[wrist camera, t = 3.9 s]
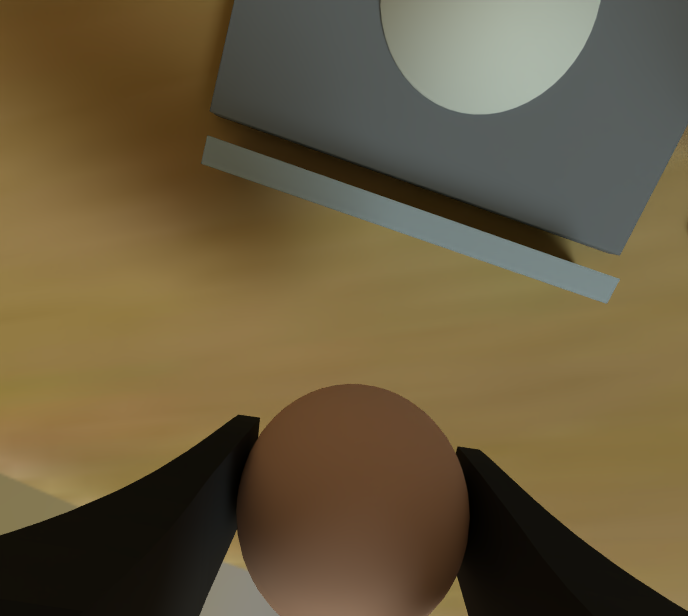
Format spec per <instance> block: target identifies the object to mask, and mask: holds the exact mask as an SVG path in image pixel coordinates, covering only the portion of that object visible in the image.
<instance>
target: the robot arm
mask: <svg viewBox="0 0 688 616" xmlns="http://www.w3.org/2000/svg"><path fill="white" fill-rule="evenodd" d="M259 422H260V418H258V417H251V416H244V415H237V416H236V417H234V418H233V419H231V420H230V421H229V422H227V423H226V424H225V425H223V426H222V427H220V428H219V429H218V430H216V431H215V432H214V433H212V434H211V435H210V436H208V437H207V438H205V439H204V440H203V441H201V442H200V443H198V444H197V445H195V446H194V447H192V448H191V449H190V450H188V451H187V452H185V453H184V454H182V455H180V456H179V457H177V458H176V459H174V460H172V461H171V462H169V463H168V464H166V465H164V466H163V467H161V468H159V469H158V470H156V471H154V472H152V473H151V474H149V475H147V476H145V477H143V478H141V479H140V480H138V481H136V482H134V483H132V484H130V485H128V486H126V487H124V488H122V489H120V490H118V491H116V492H113V493H111V494H109V495H107V496H104V497H102V498H100V499H97V500H95V501H93V502H90V503H88V504H86V505H83V506H81V507H79V508H76V509H74V510H72V511H69V512H67V513H64V514H61V515H59V516H56V517H53V518H50V519H48V520H45V521H42V522H40V523H36V524H33V525H31V526H28V527H25V528H22V529H19V530H16V531H13V532H10V533H6V534H3V535H0V616H199V615H200V613H201V610H202V608H203V605H204V603H205V600H206V598H207V595H208V593H209V591H210V589H211V586H212V584H213V582H214V580H215V577H216V575H217V573H218V571H219V568H220V566H221V564H222V562H223V560H224V557H225V555H226V553H227V551H228V548H229V546H230V544H231V542H232V539H233V537H234V535H235V532H236V530H237V515H236V507H237V496H238V489H239V484H240V479H241V475H242V472H243V469H244V466H245V463H246V461H247V458H248V456H249V453H250V451H251V449H252V448H253V446H254V444H255V442H256V441H257V439H258V432H259ZM456 455H457V457H458V460H459V463H460V465H461V468H462V470H463V474H464V478H465V481H466V486H467V491H468V498H469V511H470V522H469V532H468V542H467V546H466V550H465V554H464V557H463V561H462V564H461V567H460V569H459V572H458V574H457V577H458V581H459V584H460V588H461V591H462V595H463V598H464V602H465V605H466V609H467V612H468V616H688V611H687V610H685V609H683V608H682V607H680V606H678V605H677V604H675V603H673V602H672V601H670V600H668V599H667V598H665V597H664V596H662V595H661V594H659V593H658V592H656V591H654V590H653V589H651V588H650V587H648V586H647V585H645V584H644V583H642V582H641V581H639V580H637V579H636V578H634V577H633V576H631V575H630V574H629V573H627V572H626V571H624V570H623V569H621V568H620V567H618V566H617V565H616V564H614V563H613V562H611V561H610V560H609V559H607V558H606V557H605V556H603V555H602V554H601V553H599V552H598V551H596V550H595V549H594V548H592V547H591V546H590V545H588V544H587V543H586V542H584V541H583V540H582V539H581V538H579V537H578V536H577V535H575V534H574V533H573V532H572V531H570V530H569V529H568V528H567V527H566V526H564V525H563V524H562V523H561V522H560V521H558V520H557V519H556V518H555V517H554V516H552V515H551V514H550V513H549V512H548V511H547V510H545V509H544V508H543V507H542V506H541V505H540V504H539V503H537V502H536V501H535V500H534V499H533V498H532V497H531V496H530V495H529V494H528V493H526V492H525V491H524V490H523V489H522V488H521V487H520V486H519V485H518V484H517V483H516V482H515V481H513V480H512V479H511V478H510V477H509V476H508V475H507V474H506V473H505V472H504V471H503V470H502V469H501V468H500V467H499V466H497V465H496V464H495V463H494V462H493V461H492V460H491V459H490V458H489V457H488V456H486V455H485V454H484V453H483V452H482V451H480V450H478V449H471V448H465V447H457V451H456Z"/></svg>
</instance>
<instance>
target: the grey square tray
mask: <svg viewBox="0 0 688 616" xmlns="http://www.w3.org/2000/svg"><path fill="white" fill-rule="evenodd" d="M201 164H204V165H207V166H210V167H212V168H215V169H218V170H221V171H224V172H227V173H230V174H233V175H236V176H238V177H241V178H244V179H247V180H250V181H253V182H256V183H259V184H262V185H265V186H267V187H270V188H273V189H276V190H279V191H282V192H285V193H288V194H291V195H293V196H296V197H299V198H302V199H305V200H308V201H311V202H314V203H317V204H320V205H322V206H325V207H328V208H331V209H334V210H337V211H340V212H343V213H346V214H348V215H351V216H354V217H357V218H360V219H363V220H366V221H369V222H372V223H375V224H377V225H380V226H383V227H386V228H389V229H392V230H395V231H398V232H401V233H403V234H406V235H409V236H412V237H415V238H418V239H421V240H424V241H427V242H430V243H432V244H435V245H438V246H441V247H444V248H447V249H450V250H453V251H456V252H458V253H461V254H464V255H467V256H470V257H473V258H476V259H479V260H482V261H485V262H487V263H490V264H493V265H496V266H499V267H502V268H505V269H508V270H511V271H513V272H516V273H519V274H522V275H525V276H528V277H531V278H534V279H537V280H540V281H542V282H545V283H548V284H551V285H554V286H557V287H560V288H563V289H566V290H568V291H571V292H574V293H577V294H580V295H583V296H586V297H589V298H592V299H595V300H597V301H600V302H603V303H606V304H607V303H608V301H609V299H610V297H611V295H612V293H613V291H614V289H615V287H616V285H617V284H618V282H619V280H620V279H618V278H615V277H612V276H609V275H606V274H603V273H601V272H598V271H595V270H592V269H589V268H586V267H583V266H581V265H578V264H575V263H572V262H569V261H566V260H563V259H561V258H558V257H555V256H552V255H549V254H546V253H543V252H540V251H538V250H535V249H532V248H529V247H526V246H523V245H520V244H518V243H515V242H512V241H509V240H506V239H503V238H500V237H497V236H495V235H492V234H489V233H486V232H483V231H480V230H477V229H475V228H472V227H469V226H466V225H463V224H460V223H457V222H454V221H452V220H449V219H446V218H443V217H440V216H437V215H434V214H432V213H429V212H426V211H423V210H420V209H417V208H414V207H412V206H409V205H406V204H403V203H400V202H397V201H394V200H391V199H389V198H386V197H383V196H380V195H377V194H374V193H371V192H369V191H366V190H363V189H360V188H357V187H354V186H351V185H348V184H346V183H343V182H340V181H337V180H334V179H331V178H328V177H326V176H323V175H320V174H317V173H314V172H311V171H308V170H305V169H303V168H300V167H297V166H294V165H291V164H288V163H285V162H283V161H280V160H277V159H274V158H271V157H268V156H265V155H263V154H260V153H257V152H254V151H251V150H248V149H245V148H242V147H240V146H237V145H234V144H231V143H228V142H225V141H222V140H220V139H217V138H214V137H211V136H208V135H207V140H206V144H205V148H204V153H203V157H202V162H201Z"/></svg>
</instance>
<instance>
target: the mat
mask: <svg viewBox="0 0 688 616" xmlns="http://www.w3.org/2000/svg"><path fill="white" fill-rule="evenodd" d="M210 112H212V113H214V114H215V115H217V116H220V117H222V118H225V119H228V120H231V121H234V122H237V123H239V124H242V125H245V126H248V127H251V128H254V129H257V130H259V131H262V132H265V133H268V134H271V135H274V136H276V137H279V138H282V139H285V140H288V141H291V142H293V143H296V144H299V145H302V146H305V147H308V148H311V149H313V150H316V151H319V152H322V153H325V154H328V155H330V156H333V157H336V158H339V159H342V160H345V161H348V162H350V163H353V164H356V165H359V166H362V167H365V168H367V169H370V170H373V171H376V172H379V173H382V174H384V175H387V176H390V177H393V178H396V179H399V180H402V181H404V182H407V183H410V184H413V185H416V186H419V187H421V188H424V189H427V190H430V191H433V192H436V193H438V194H441V195H444V196H447V197H450V198H453V199H456V200H458V201H461V202H464V203H467V204H470V205H473V206H475V207H478V208H481V209H484V210H487V211H490V212H493V213H495V214H498V215H501V216H504V217H507V218H510V219H512V220H515V221H518V222H521V223H524V224H527V225H529V226H532V227H535V228H538V229H541V230H544V231H547V232H549V233H552V234H555V235H558V236H561V237H564V238H566V239H569V240H572V241H575V242H578V243H581V244H584V245H586V246H589V247H592V248H595V249H598V250H601V251H603V252H606V253H610V254H615V255H620V254H621V252H622V250H623V248H624V246H625V244H626V243H627V241H628V239H629V237H630V235H631V233H632V231H633V229H634V227H635V225H636V223H637V221H638V219H639V217H640V215H641V214H642V212H643V210H644V208H645V206H646V204H647V202H648V200H649V198H650V196H651V194H652V192H653V190H654V188H655V186H656V185H657V183H658V181H659V179H660V177H661V175H662V173H663V171H664V169H665V167H666V165H667V163H668V161H669V159H670V157H671V156H672V154H673V152H674V150H675V148H676V146H677V144H678V142H679V140H680V138H681V136H682V134H683V132H684V130H685V128H686V127H687V125H688V0H234V5H233V9H232V14H231V18H230V23H229V27H228V32H227V36H226V40H225V45H224V49H223V54H222V58H221V63H220V67H219V72H218V76H217V81H216V85H215V89H214V94H213V98H212V103H211V107H210Z"/></svg>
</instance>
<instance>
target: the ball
mask: <svg viewBox="0 0 688 616" xmlns="http://www.w3.org/2000/svg"><path fill="white" fill-rule="evenodd" d="M236 515H237V531H238V538H239V542H240V546H241V551H242V555H243V559H244V561H245V564H246V566H247V569H248V571H249V573H250V575H251V578H252V580H253V582H254V583H255V585H256V587H257V589H258V590H259V592H260V593H261V594H262V596H263V597H264V598H265V599H266V601H267V602H268V603H269V605H270V606H271V607H272V608H273V609H274V610H275V611H276V612H277V613H278V614H279V615H280V616H428V615H429V614H430V613H431V612H432V611H433V610H434V609H435V608H436V606H437V605H438V604H439V603H440V602H441V601H442V599H443V598H444V597H445V595H446V594H447V592H448V591H449V589H450V587H451V586H452V584H453V582H454V580H455V578H456V576H457V574H458V572H459V569H460V567H461V564H462V561H463V557H464V554H465V550H466V546H467V542H468V532H469V522H470V511H469V498H468V491H467V486H466V481H465V478H464V474H463V470H462V468H461V465H460V463H459V460H458V457H457V455H456V453H455V452H454V450H453V448H452V446H451V444H450V442H449V441H448V439H447V437H446V436H445V435H444V433H443V432H442V431H441V430H440V428H439V427H438V426H437V425H436V423H435V422H434V421H433V420H432V419H431V418H430V417H429V416H428V415H427V414H426V413H425V412H424V411H422V410H421V409H420V408H418V407H417V406H416V405H414V404H413V403H412V402H410V401H409V400H407V399H405V398H403V397H402V396H400V395H398V394H396V393H393V392H391V391H388V390H385V389H382V388H378V387H374V386H368V385H361V384H344V385H335V386H330V387H326V388H322V389H319V390H316V391H313V392H310V393H309V394H307V395H305V396H303V397H301V398H299V399H297V400H296V401H294V402H293V403H291V404H290V405H288V406H287V407H285V408H284V409H283V410H282V411H281V412H280V413H279V414H277V415H276V416H275V417H274V418H273V419H272V421H271V422H270V423H269V424H268V425H267V426H266V428H265V429H264V430H263V431H262V432H261V434H260V436H259V437H258V439H257V441H256V442H255V444H254V446H253V448H252V449H251V451H250V453H249V456H248V458H247V461H246V463H245V466H244V469H243V472H242V475H241V479H240V484H239V489H238V496H237V507H236Z"/></svg>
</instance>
